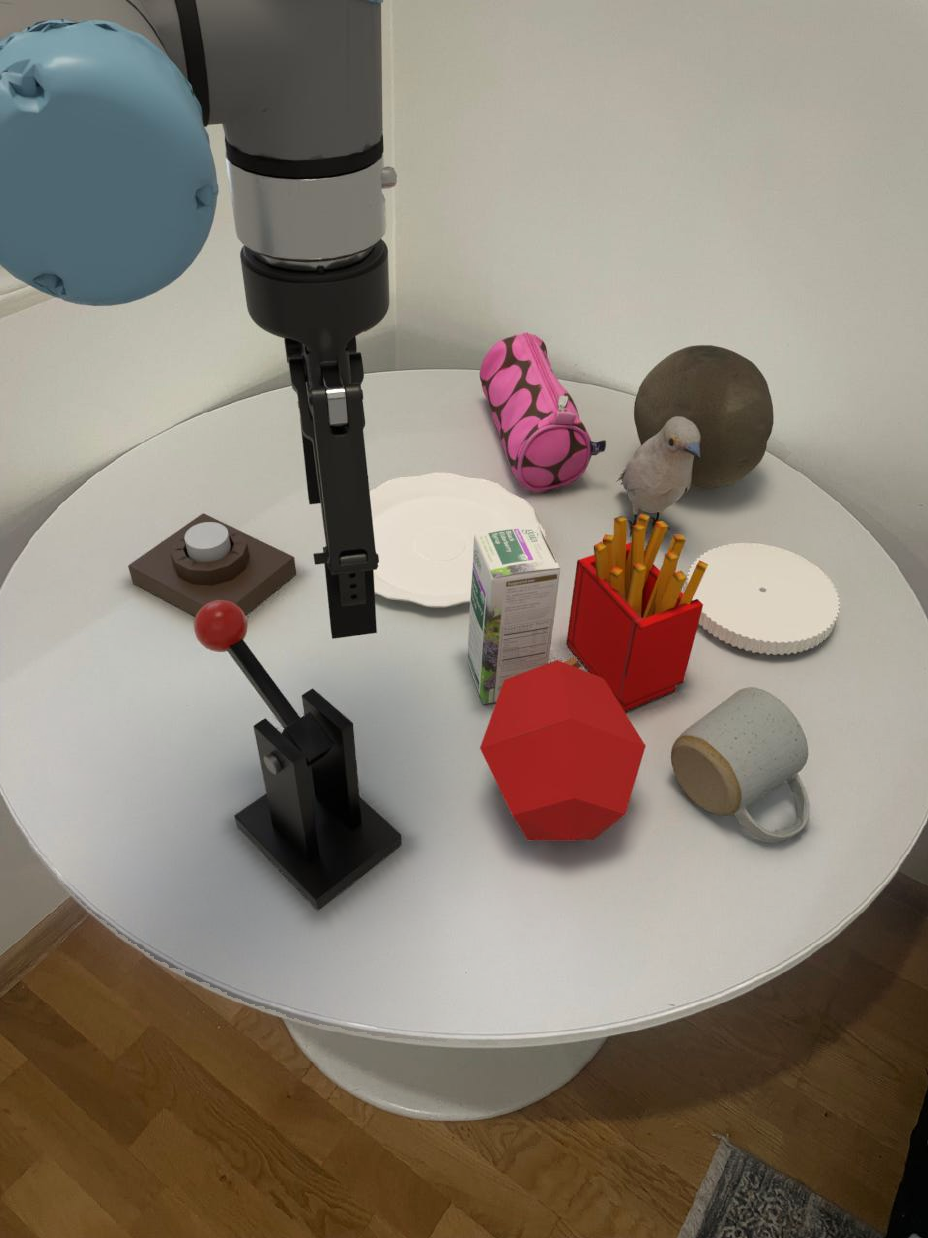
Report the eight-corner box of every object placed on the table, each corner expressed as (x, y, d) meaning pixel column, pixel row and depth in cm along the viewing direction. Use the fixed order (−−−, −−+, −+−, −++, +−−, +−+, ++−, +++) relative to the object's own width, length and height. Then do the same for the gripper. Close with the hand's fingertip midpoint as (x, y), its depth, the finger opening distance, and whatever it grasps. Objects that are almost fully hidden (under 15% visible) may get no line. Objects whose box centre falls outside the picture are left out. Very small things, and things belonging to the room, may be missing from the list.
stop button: (178, 552, 93) (175, 538, 92) (208, 531, 95) (206, 516, 94) (209, 568, 91) (206, 554, 90) (239, 546, 94) (237, 531, 93)
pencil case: (602, 492, 107) (613, 411, 101) (515, 503, 106) (521, 421, 99) (545, 391, 122) (552, 315, 116) (469, 399, 121) (471, 322, 114)
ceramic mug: (656, 777, 79) (673, 715, 74) (724, 729, 83) (744, 667, 78) (759, 870, 74) (786, 810, 68) (827, 814, 77) (858, 753, 72)
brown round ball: (702, 432, 116) (728, 312, 106) (782, 497, 107) (819, 372, 97) (601, 462, 112) (618, 339, 101) (676, 532, 103) (703, 406, 92)
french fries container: (627, 623, 93) (649, 501, 83) (686, 687, 87) (718, 565, 77) (563, 646, 90) (578, 524, 80) (620, 715, 84) (644, 592, 75)
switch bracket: (235, 825, 75) (209, 714, 67) (319, 767, 80) (304, 655, 71) (318, 911, 70) (301, 803, 62) (402, 844, 74) (398, 734, 66)
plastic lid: (837, 580, 98) (844, 561, 96) (827, 678, 88) (835, 658, 86) (694, 549, 101) (699, 529, 99) (670, 640, 91) (675, 620, 89)
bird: (652, 575, 98) (678, 446, 87) (599, 496, 107) (617, 371, 97) (697, 566, 99) (728, 438, 88) (641, 489, 108) (663, 364, 98)
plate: (321, 499, 105) (320, 486, 104) (509, 474, 109) (510, 461, 108) (355, 633, 91) (354, 619, 90) (571, 598, 95) (573, 585, 94)
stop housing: (132, 583, 95) (123, 550, 92) (206, 529, 101) (200, 498, 99) (224, 632, 90) (218, 600, 88) (296, 574, 97) (292, 542, 94)
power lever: (180, 628, 69) (186, 606, 66) (224, 604, 71) (231, 582, 68) (291, 780, 68) (302, 765, 65) (332, 751, 70) (345, 736, 67)
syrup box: (465, 659, 89) (469, 532, 79) (528, 648, 90) (539, 521, 80) (482, 706, 85) (489, 578, 75) (548, 693, 86) (563, 565, 76)
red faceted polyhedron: (473, 869, 74) (467, 694, 83) (631, 870, 76) (609, 698, 84) (491, 804, 65) (482, 614, 73) (673, 807, 66) (644, 619, 74)
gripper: (432, 353, 42) (432, 690, 57) (354, 151, 60) (369, 449, 74) (253, 368, 41) (300, 709, 56) (227, 158, 59) (268, 459, 73)
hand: (340, 561), depth 65 cm, fingers open, 13 cm apart
